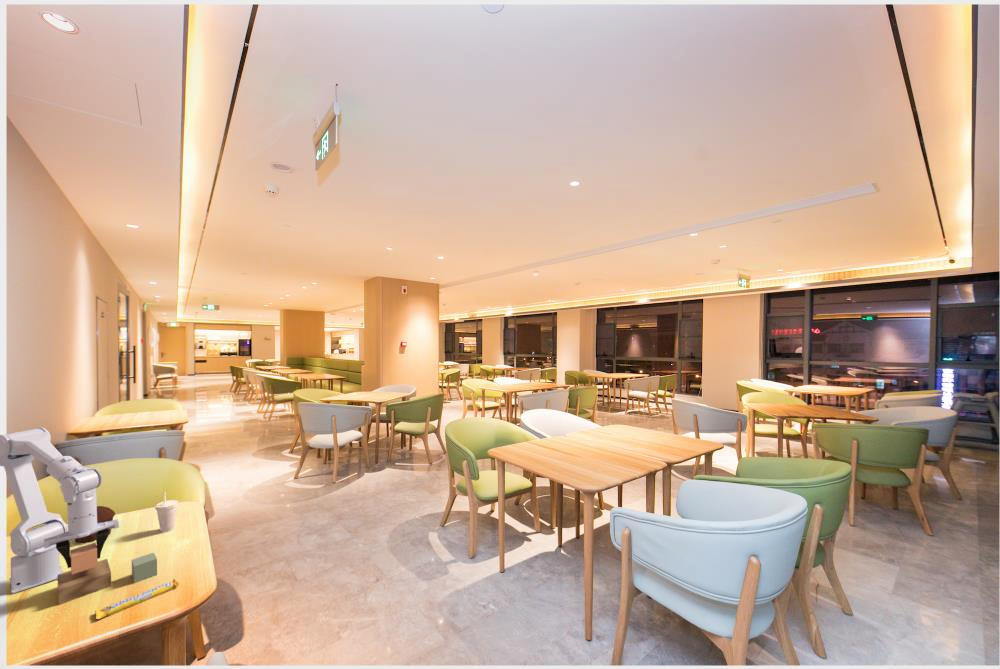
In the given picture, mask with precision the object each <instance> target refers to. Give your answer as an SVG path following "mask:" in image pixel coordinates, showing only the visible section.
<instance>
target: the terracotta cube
mask: <svg viewBox="0 0 1000 669" xmlns="http://www.w3.org/2000/svg"><path fill="white" fill-rule="evenodd" d="M96 545H97V543H96V542H91V543H90V544H86V545H83V546H79V547H75V548H72V549H70V558H71V567H70V571H71V572H72V574H75V573H78V572H81V571H84V570H87V569H90V568H93V567H96V566H98V562H99V561H98V559H97V547H96Z"/></svg>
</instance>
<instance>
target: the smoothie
mask: <svg viewBox="0 0 1000 669" xmlns="http://www.w3.org/2000/svg"><path fill="white" fill-rule="evenodd" d="M166 493H167V492H166V491H163V501H161V502H158V503H157V504H156V505H155V508H154V509H155V510H156V514H157V519H158V524H159V528H160V532H161V533H168V532H171V531H172V530H174V529H175V524H176V515H177V508H178V505H179V501H178V499H169V500H167V498H166Z"/></svg>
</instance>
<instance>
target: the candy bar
mask: <svg viewBox="0 0 1000 669" xmlns="http://www.w3.org/2000/svg"><path fill="white" fill-rule="evenodd" d="M179 585H180V583H179V582H178V581H177V580H176V579H175V578H174V579H172V580H171V581H169V582H166V583H164V584H161V585H159V586H157V587H156V586H155V587H154V588H151V589H149V590H146V591H145V592H141V593H139V594H136V595H134V596H133V595H132V596H131V597H128V598H125V599H123V600H120V601H117V602H115V603H112V604H111V605H110V604H109V605H108V606H106V607H103V608H101V609H96V610H94V612H95V619H96V620H100V619H102V618H105V617H109V616H111V615H114V614H117V613H120V612H121V611H124V610H127V609H130V608H132V607H134V606H136V605H139V604H141V603H145V601H149V600H151V599H153V598H155V597H158V596H162V595H163V594H166V593H169V592H170V591H173V590H174V589H176V588H178V586H179Z"/></svg>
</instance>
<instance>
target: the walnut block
mask: <svg viewBox="0 0 1000 669" xmlns="http://www.w3.org/2000/svg"><path fill="white" fill-rule="evenodd" d="M108 560H109V559H108V558H105V559H102V560H100V561H97V562H98V566H96V567H93V568H90V569H87V570H84V571H81V572H78V573H75V574H72V572H71V570H68V571H65V572H62V573H61V574H58V579H57V593H58V595H57V596H58V605H62V604H65V603H68V602H71V601H73V600H76V599H79V598H81V597H84V596H87V595H90V594H92V593H96V592H98V591H101V590H103V589H107V588H109V587H112V572H111V567H110V564H109V561H108Z"/></svg>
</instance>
